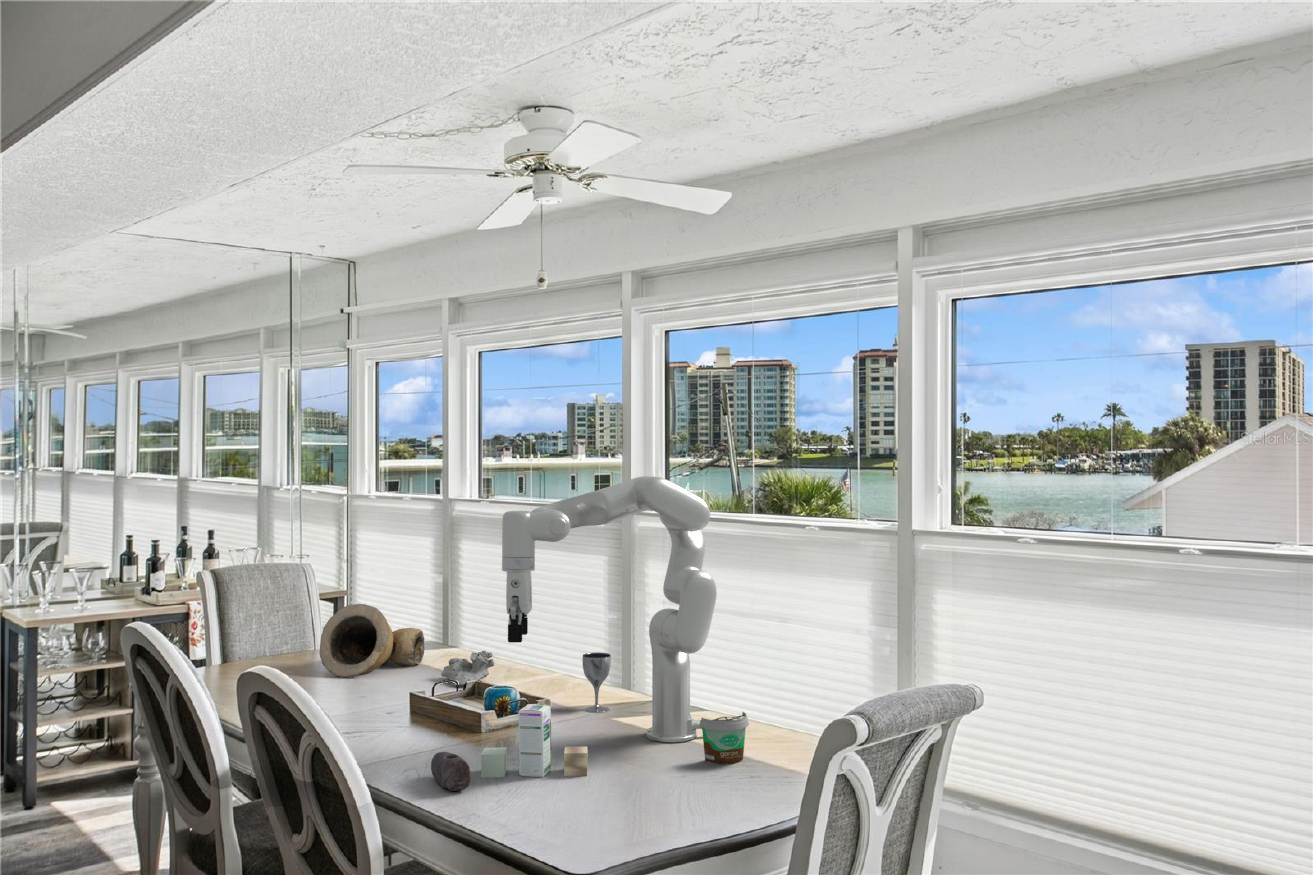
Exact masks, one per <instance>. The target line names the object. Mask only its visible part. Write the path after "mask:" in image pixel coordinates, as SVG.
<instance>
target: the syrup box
mask: <svg viewBox="0 0 1313 875" xmlns="http://www.w3.org/2000/svg"><path fill="white" fill-rule="evenodd" d="M551 709H552V707H551V705H550V704H545V703H544V704H543V703H532V704H531V703H530V704H529V703H527V704H526V706H524V707H522V708H521V709H519V710H518V768H519V769H518V771H519V772H518V774H519V776H522V777H527V778H528V777H531V778H544V777H545V775H547V774H548V773H549V772H550V771H551V770H552V717H551V716H552V712H551Z"/></svg>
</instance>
